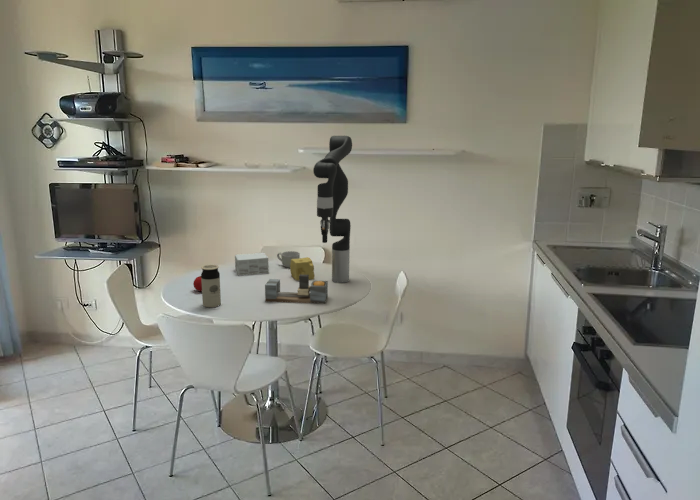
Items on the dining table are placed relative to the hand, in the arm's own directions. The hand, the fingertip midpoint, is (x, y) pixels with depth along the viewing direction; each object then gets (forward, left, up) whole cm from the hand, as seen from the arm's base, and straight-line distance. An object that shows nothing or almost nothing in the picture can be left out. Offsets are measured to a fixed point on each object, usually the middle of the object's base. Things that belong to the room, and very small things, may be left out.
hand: (324, 242), depth 244 cm
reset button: (+7, -2, -22) cm, 23 cm away
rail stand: (+7, -12, -26) cm, 30 cm away
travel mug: (+19, -49, -27) cm, 59 cm away
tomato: (-1, -60, -27) cm, 66 cm away
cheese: (-29, -15, -27) cm, 43 cm away
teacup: (-52, -27, -27) cm, 65 cm away
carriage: (+7, -9, -23) cm, 26 cm away
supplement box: (-38, -45, -27) cm, 65 cm away
